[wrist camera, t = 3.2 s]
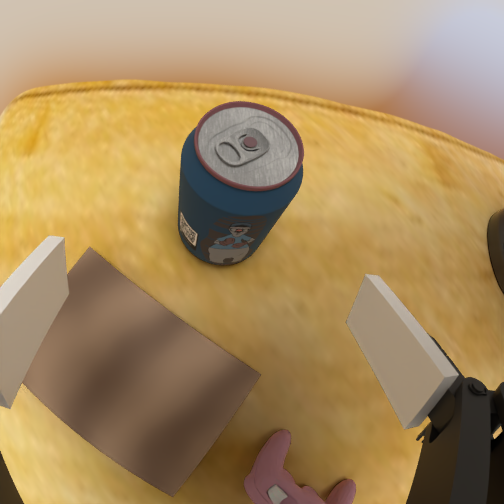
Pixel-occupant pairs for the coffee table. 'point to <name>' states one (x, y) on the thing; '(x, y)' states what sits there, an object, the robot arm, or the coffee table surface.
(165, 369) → the walnut board
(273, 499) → the video game controller
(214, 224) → the soda can
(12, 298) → the robot arm
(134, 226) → the coffee table surface
